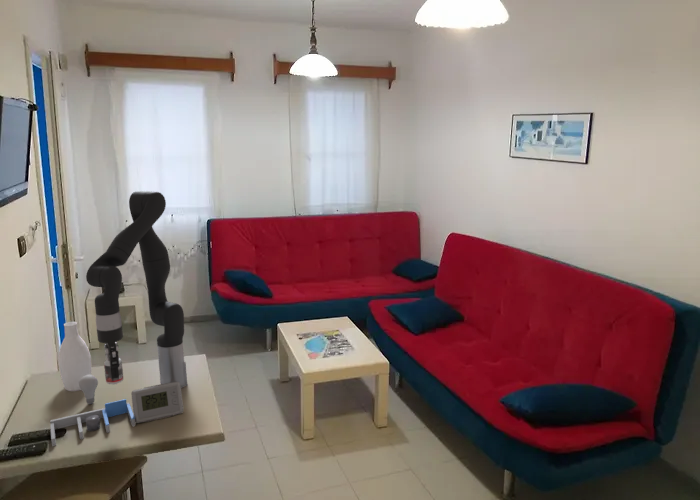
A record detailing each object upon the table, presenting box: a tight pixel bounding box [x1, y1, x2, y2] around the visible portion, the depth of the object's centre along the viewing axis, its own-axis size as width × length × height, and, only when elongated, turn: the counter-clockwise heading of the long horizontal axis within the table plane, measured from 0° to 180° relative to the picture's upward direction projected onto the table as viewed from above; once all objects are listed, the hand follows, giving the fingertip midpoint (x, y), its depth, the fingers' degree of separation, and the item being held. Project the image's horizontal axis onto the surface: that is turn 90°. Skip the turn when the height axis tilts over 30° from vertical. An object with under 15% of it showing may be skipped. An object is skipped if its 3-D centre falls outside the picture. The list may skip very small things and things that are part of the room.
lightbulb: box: [79, 374, 99, 405], centre depth 196 cm, size 6×6×11 cm
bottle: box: [57, 321, 93, 392], centre depth 208 cm, size 11×11×25 cm
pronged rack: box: [49, 398, 136, 447], centre depth 180 cm, size 24×12×5 cm, turn 120°
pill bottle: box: [103, 352, 124, 385], centre depth 180 cm, size 5×5×10 cm
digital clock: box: [131, 382, 184, 424], centre depth 187 cm, size 16×9×11 cm, turn 105°
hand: (114, 374), depth 180 cm, fingers closed on pill bottle, 5 cm apart
